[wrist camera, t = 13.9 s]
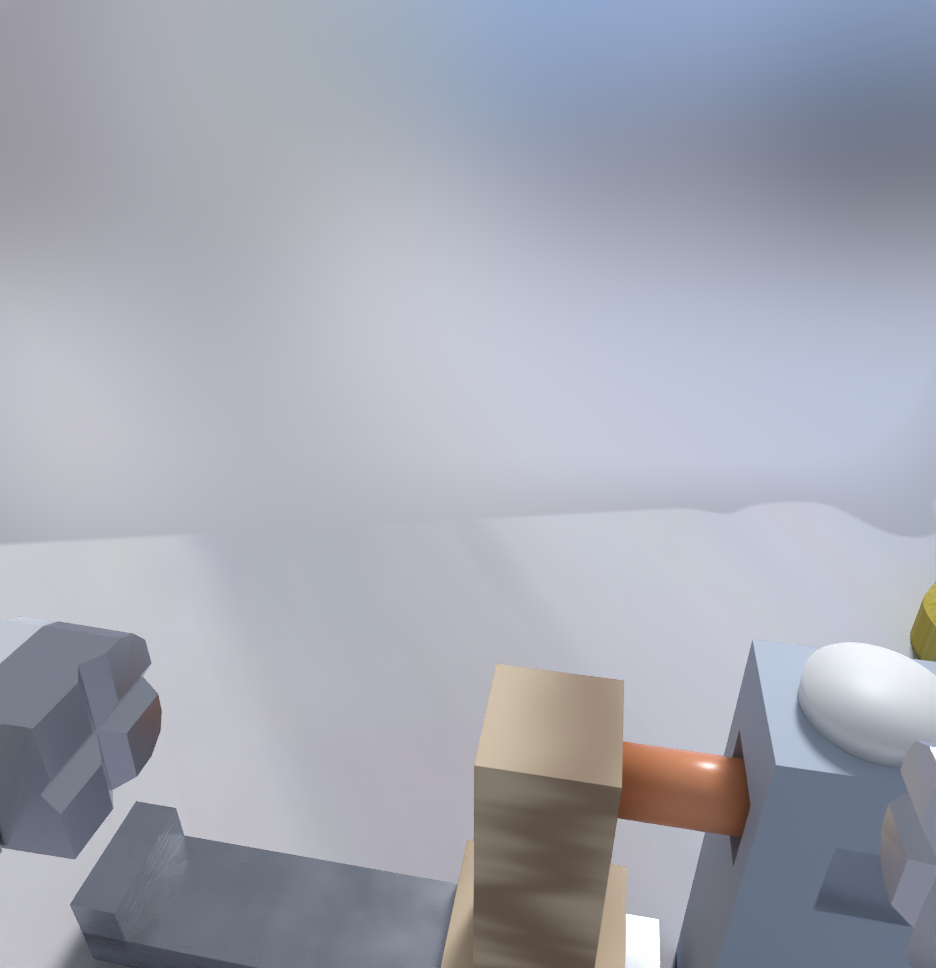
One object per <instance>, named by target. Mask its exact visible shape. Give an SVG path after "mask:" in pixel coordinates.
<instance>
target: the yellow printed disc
mask: <svg viewBox="0 0 936 968" xmlns="http://www.w3.org/2000/svg"><path fill="white" fill-rule="evenodd" d="M910 639H911V643H912V646H913V648H914V650H915V652H916V654H917V655H918V657H919V658H920V660H926V661H934V662H936V582H935V584H934V585H933V586H932V587H931V588H930V590H929V591H928V592H927V593H926V594H925V596H924V598H923V601H922V603H921V606H920V609H919V611H918V614H917V617H916V619H915V622H914V625H913V627H912V630H911V635H910Z"/></svg>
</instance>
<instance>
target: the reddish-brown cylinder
mask: <svg viewBox="0 0 936 968" xmlns="http://www.w3.org/2000/svg"><path fill="white" fill-rule="evenodd" d="M750 807H751V805H750V798H749V791H748V784H747V777H746V770H745V763H744V759H742V758H735V757H728V756H721V755H714V754H707V753H700V752H693V751H686V750H679V749H672V748H665V747H658V746H651V745H644V744H637V743H630V742H623V759H622V791H621V797H620V804H619V811H618V817H617V818H620V819H626V820H633V821H639V822H645V823H652V824H658V825H664V826H671V827H677V828H683V829H690V830H696V831H702V832H709V833H715V834H721V835H727V836H734V837H740V838H742V835H743V831H744V828H745V824H746V821H747V817H748V814H749V810H750Z"/></svg>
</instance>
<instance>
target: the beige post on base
mask: <svg viewBox="0 0 936 968" xmlns="http://www.w3.org/2000/svg"><path fill="white" fill-rule="evenodd" d="M623 705H624V681H623V680H616V679H608V678H601V677H593V676H585V675H578V674H570V673H562V672H555V671H547V670H539V669H532V668H524V667H516V666H509V665H501V664H496V668H495V673H494V677H493V682H492V686H491V691H490V695H489V700H488V705H487V709H486V714H485V718H484V723H483V728H482V732H481V737H480V741H479V746H478V750H477V755H476V760H475V764H474V841H471V840H467V842H466V847H465V852H464V857H463V862H462V867H461V871H460V876H459V881H458V886H457V891H456V896H455V900H454V905H453V910H452V915H451V920H450V925H449V929H448V934H447V939H446V944H445V949H444V954H443V958H442V963H441V968H625V966H626V878H627V867H626V866H620V865H614V864H610V863H611V857H612V850H613V844H614V837H615V830H616V824H617V817H618V811H619V804H620V797H621V791H622V759H623Z"/></svg>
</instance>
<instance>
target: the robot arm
mask: <svg viewBox="0 0 936 968" xmlns="http://www.w3.org/2000/svg"><path fill="white" fill-rule="evenodd" d="M150 665H151V660H150V656H149V653H148V649H147V645H146V642H145V640H144V639H142V638H140V637H139V636H137V635H135V634H132V633H126V632H120V631H114V630H107V629H101V628H95V627H89V626H83V625H77V624H71V623H64V622H52V621H47V620H41V619H34V618H28V617H22V616H20V617H16V618H11V619H7V620H4V621H3V622H2V623H0V853H1V852H2V849H1V848H7V849H13V850H19V851H26V852H32V853H38V854H44V855H51V856H57V857H63V858H69V859H76V857H77V856H78V855H79V853H80V852H81V851H82V849H83V848H84V847H85V845H86V844H87V843H88V841H89V840H90V839H91V837H92V836H93V835H94V833H95V832H96V831H97V829H98V828H99V827H100V825H101V824H102V823H103V821H104V820H105V819H106V817H107V816H108V815H109V813H110V812H111V811H112V809H113V791H112V790H113V789H115V788H117V787H119V786H121V785H122V784H124V783H126V782H128V781H130V780H131V779H133V778H135V777H137V776H138V774H139V773H140V771H141V770H142V768H143V767H144V766H145V764H146V763H147V761H148V760H149V759H150V757H151V756H152V753H153V750H154V747H155V744H156V742H157V739H158V736H159V733H160V730H161V712H162V711H161V706H160V701H159V696H158V693H157V692H156V691H155V690H154V689H153V688H152V687H151V685H150V684H149V683H148V682H147V681H146V680H145V679H144V678H143V675H144V674H145V672H146V671H147V669H148V668H149V666H150ZM900 771H901V774H902V777H903V779H904V782H905V785H906V787H907V790H908V792H906V793H905V794H903V795H901V796H900V797H898V798H897V799H895V800H893V801H892V802H890V803H889V804H888V807H887V811H886V814H885V817H884V821H883V824H882V828H881V848H880V859H881V866H882V872H883V879H884V883H885V886H886V890H887V893H888V896H889V900H890V903H891V905H892V907H893V908H894V909H895V910H896V911H897V912H898V913H899V914H900V915H901V916H902V917H903V918H904V919H905V920H906V921H907V922H908V923H909V924H910V925H911V926H912V927H913V928H914V929H913V932H912V934H911V937H910V940H909V942H908V945H907V947H906V950H905V951H906V954H907V957H908V960H909V964H910V967H911V968H936V743H932V742H924V741H917V740H916V741H915V742H914V744H913V745H912V746H911V747H910V748H909V749H908V750H907V752H906V755H905V758H904V761H903V763H902V766H901V769H900Z"/></svg>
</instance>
